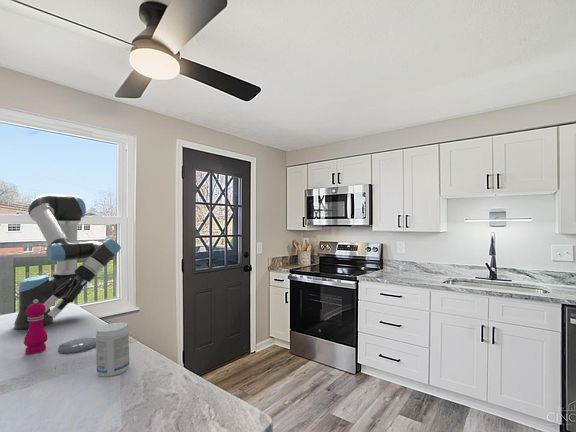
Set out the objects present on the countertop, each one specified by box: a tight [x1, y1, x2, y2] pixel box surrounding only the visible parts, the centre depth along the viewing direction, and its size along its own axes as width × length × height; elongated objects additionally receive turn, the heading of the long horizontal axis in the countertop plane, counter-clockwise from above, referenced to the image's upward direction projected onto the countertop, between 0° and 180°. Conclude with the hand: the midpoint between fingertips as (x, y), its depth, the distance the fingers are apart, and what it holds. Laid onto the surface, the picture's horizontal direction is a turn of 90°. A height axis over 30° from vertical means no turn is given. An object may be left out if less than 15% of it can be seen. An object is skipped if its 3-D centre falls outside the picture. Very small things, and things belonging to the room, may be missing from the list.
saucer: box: [57, 337, 96, 355], centre depth 127 cm, size 14×14×1 cm
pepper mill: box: [23, 299, 48, 355], centre depth 124 cm, size 7×7×20 cm
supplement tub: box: [95, 321, 130, 378], centre depth 105 cm, size 10×10×15 cm
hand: (46, 313), depth 125 cm, fingers open, 13 cm apart
